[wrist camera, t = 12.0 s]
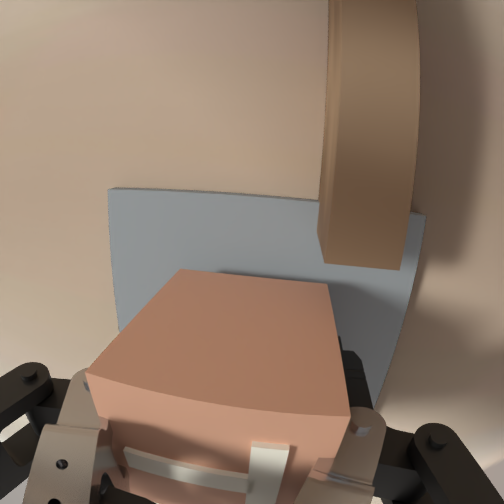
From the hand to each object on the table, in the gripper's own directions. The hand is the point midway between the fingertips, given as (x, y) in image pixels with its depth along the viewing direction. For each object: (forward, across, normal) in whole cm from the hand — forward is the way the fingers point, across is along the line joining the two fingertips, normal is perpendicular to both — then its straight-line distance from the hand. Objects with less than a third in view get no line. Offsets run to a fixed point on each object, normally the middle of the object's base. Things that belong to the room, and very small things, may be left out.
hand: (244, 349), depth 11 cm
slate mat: (+2, 0, 0) cm, 2 cm away
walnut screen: (+2, -3, -12) cm, 13 cm away
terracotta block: (+1, 0, 0) cm, 1 cm away
